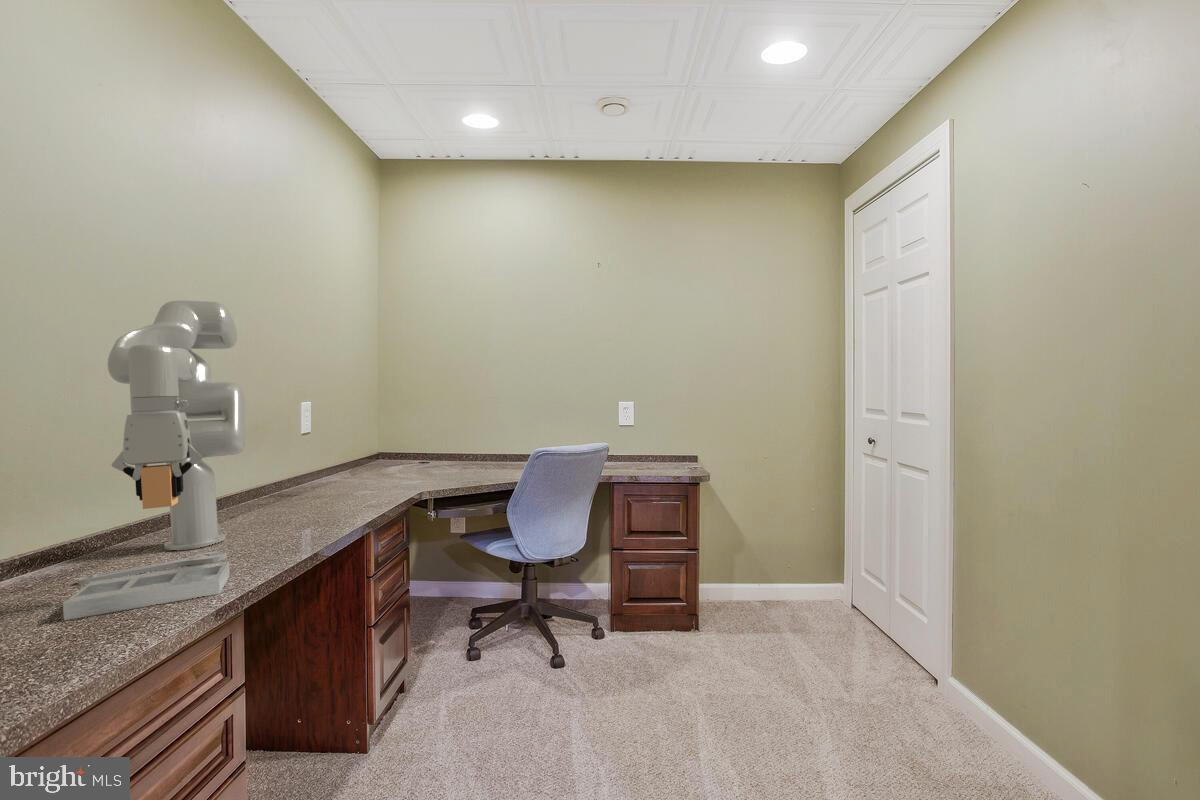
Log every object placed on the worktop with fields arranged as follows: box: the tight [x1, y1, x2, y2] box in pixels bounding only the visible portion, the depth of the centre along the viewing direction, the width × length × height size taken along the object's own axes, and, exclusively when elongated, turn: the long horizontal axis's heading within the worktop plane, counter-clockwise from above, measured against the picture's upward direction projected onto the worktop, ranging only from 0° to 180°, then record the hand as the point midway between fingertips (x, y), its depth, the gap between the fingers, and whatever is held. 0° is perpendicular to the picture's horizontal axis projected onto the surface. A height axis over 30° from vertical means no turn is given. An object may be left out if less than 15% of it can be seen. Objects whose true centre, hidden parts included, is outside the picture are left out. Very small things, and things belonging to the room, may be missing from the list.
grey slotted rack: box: [76, 550, 228, 585], centre depth 119 cm, size 25×6×2 cm, turn 122°
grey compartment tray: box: [62, 560, 231, 622], centre depth 102 cm, size 12×22×3 cm, turn 117°
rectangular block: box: [141, 463, 178, 510], centre depth 108 cm, size 4×4×8 cm
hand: (160, 496), depth 108 cm, fingers closed on rectangular block, 4 cm apart
